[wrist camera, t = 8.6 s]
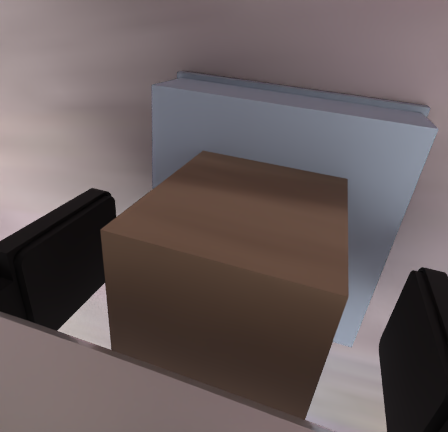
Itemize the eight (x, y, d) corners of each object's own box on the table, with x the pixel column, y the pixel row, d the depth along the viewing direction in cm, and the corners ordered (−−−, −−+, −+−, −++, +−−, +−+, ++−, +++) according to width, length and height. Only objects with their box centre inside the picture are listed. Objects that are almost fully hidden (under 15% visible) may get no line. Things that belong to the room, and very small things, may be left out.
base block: (182, 70, 14) (146, 77, 12) (427, 105, 12) (449, 123, 10) (176, 255, 19) (149, 289, 16) (353, 304, 17) (355, 352, 14)
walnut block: (203, 150, 12) (100, 229, 7) (347, 178, 11) (348, 296, 6) (195, 263, 15) (114, 383, 10) (313, 296, 13) (293, 451, 8)
